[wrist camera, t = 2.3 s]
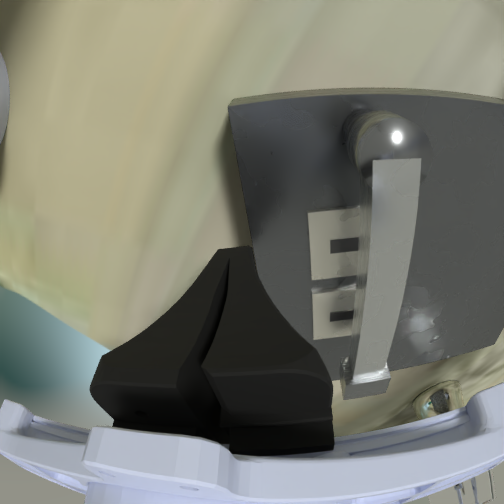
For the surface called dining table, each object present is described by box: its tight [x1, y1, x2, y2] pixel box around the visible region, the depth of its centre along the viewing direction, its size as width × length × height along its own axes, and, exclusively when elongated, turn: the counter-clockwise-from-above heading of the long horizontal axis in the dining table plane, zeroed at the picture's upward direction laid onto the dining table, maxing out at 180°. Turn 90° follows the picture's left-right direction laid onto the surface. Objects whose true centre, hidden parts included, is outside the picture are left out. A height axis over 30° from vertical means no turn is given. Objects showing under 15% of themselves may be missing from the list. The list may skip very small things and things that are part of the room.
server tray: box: [228, 88, 504, 381], centre depth 15 cm, size 18×18×4 cm
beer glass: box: [412, 381, 496, 504], centre depth 21 cm, size 7×7×15 cm
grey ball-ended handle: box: [339, 110, 432, 400], centre depth 12 cm, size 14×2×2 cm, turn 9°
